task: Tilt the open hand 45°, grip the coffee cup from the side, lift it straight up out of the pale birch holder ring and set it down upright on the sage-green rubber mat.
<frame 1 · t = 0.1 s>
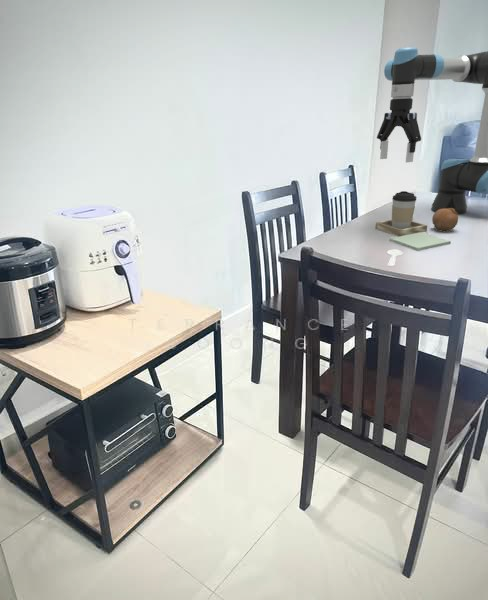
hand: (395, 160, 164), 28 cm above the table, tool pointing down, fingers open, 13 cm apart
onion: (443, 230, 177), on the table
cup holder: (400, 229, 178), on the table
mat: (419, 242, 163), on the table
spoon: (393, 258, 149), on the table
coffee cup: (400, 230, 179), resting in cup holder
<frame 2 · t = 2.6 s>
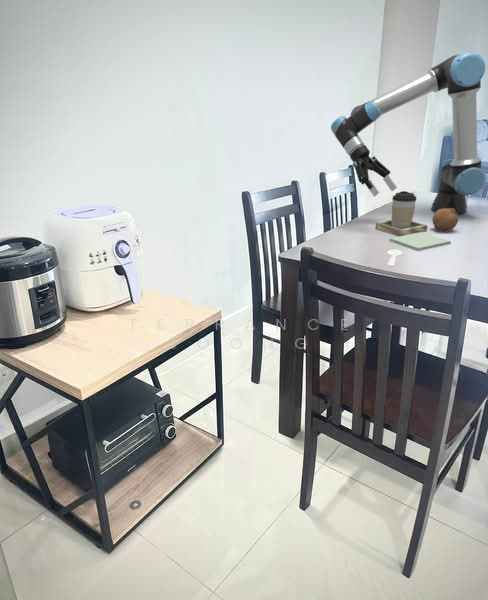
hand: (386, 191, 177), 15 cm above the table, tool tilted 45°, fingers open, 13 cm apart
nothing on the table moved.
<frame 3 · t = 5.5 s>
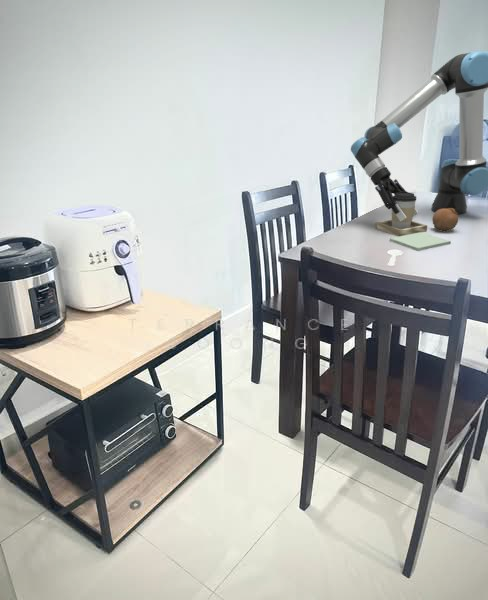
hand: (409, 217, 174), 6 cm above the table, tool tilted 45°, fingers closed on coffee cup, 9 cm apart
coffee cup: (400, 230, 179), resting in cup holder, touching gripper
everything else where it was.
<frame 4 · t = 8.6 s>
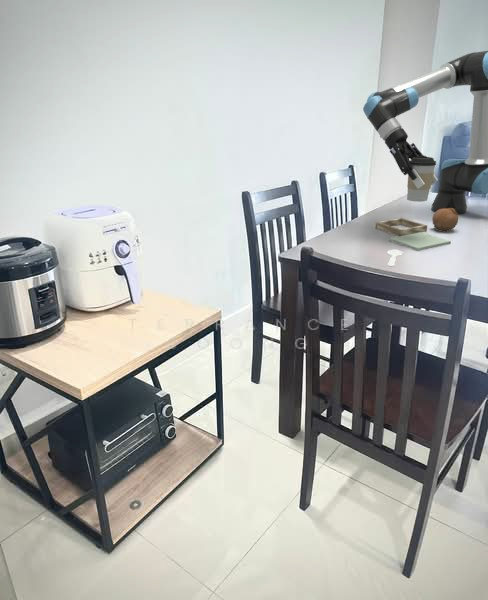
hand: (428, 184, 155), 21 cm above the table, tool tilted 45°, fingers closed on coffee cup, 9 cm apart
coffee cup: (416, 200, 160), point 15 cm above the table, touching gripper
everything else where it was.
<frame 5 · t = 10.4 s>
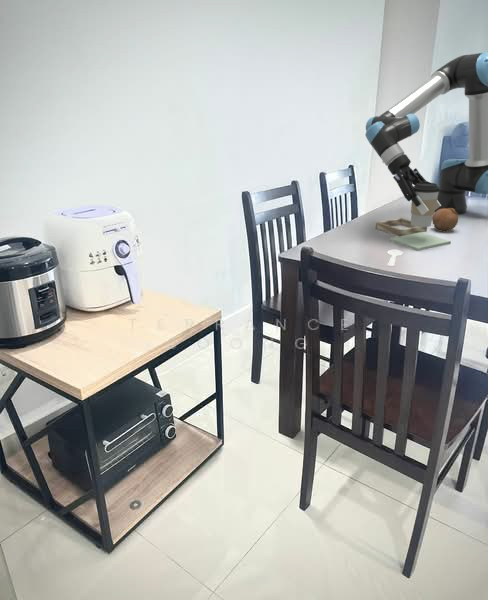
hand: (431, 210, 155), 13 cm above the table, tool tilted 45°, fingers closed on coffee cup, 9 cm apart
coffee cup: (420, 225, 160), point 7 cm above the table, touching gripper
everything else where it was.
when the fingers open (8 cm above the table, at t = 11.7 s): coffee cup drops 1 cm, resting on mat.
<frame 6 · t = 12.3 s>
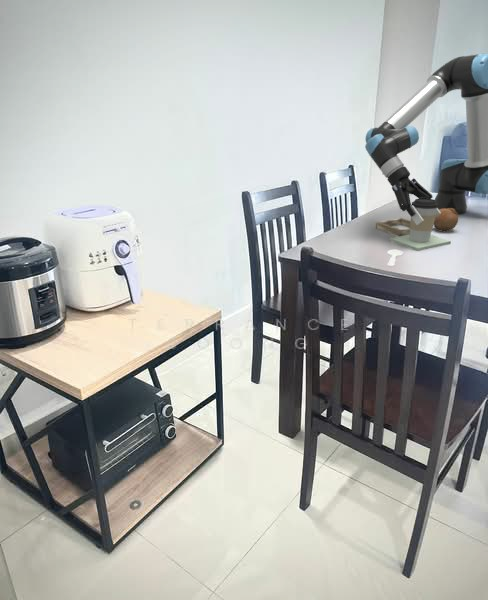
hand: (429, 219, 158), 9 cm above the table, tool tilted 45°, fingers open, 13 cm apart
coffee cup: (419, 240, 163), point 1 cm above the table, touching mat
everything else where it was.
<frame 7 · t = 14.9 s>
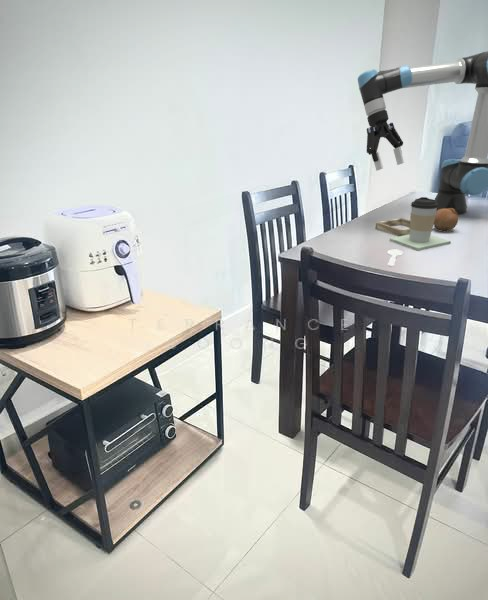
hand: (390, 166, 173), 24 cm above the table, tool tilted 25°, fingers open, 13 cm apart
nothing on the table moved.
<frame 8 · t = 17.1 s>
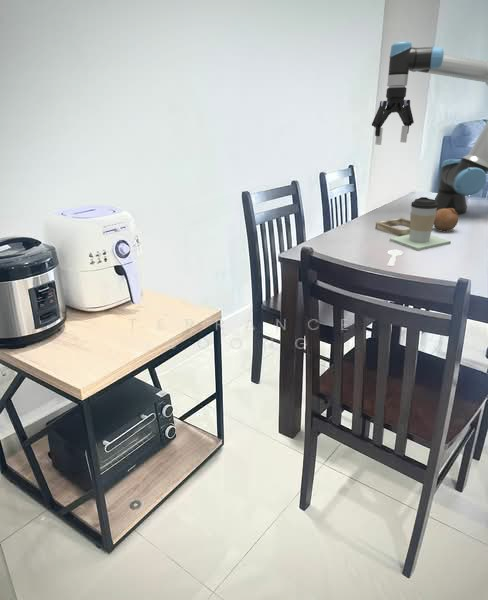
hand: (390, 143, 183), 32 cm above the table, tool pointing down, fingers open, 13 cm apart
nothing on the table moved.
at the end: coffee cup inside the target area on the mat (0.2 cm from its centre), point 0.8 cm above the mat's base; coffee cup tilted 0°; the gripper is holding nothing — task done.
